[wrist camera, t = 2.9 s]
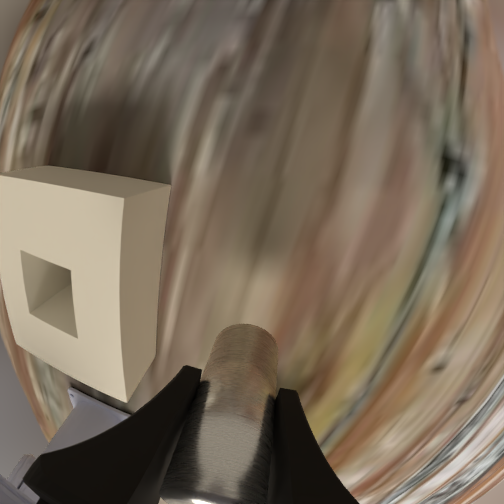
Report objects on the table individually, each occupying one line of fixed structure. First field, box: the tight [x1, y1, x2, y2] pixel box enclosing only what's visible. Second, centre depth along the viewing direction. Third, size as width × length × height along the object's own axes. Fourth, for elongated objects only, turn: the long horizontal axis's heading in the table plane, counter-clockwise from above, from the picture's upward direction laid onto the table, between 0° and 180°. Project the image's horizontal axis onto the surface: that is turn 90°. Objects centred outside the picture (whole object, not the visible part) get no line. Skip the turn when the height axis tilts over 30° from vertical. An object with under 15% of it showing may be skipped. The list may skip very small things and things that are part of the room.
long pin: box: [159, 324, 278, 504], centre depth 9 cm, size 3×3×8 cm
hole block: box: [0, 165, 171, 403], centre depth 15 cm, size 12×10×5 cm
